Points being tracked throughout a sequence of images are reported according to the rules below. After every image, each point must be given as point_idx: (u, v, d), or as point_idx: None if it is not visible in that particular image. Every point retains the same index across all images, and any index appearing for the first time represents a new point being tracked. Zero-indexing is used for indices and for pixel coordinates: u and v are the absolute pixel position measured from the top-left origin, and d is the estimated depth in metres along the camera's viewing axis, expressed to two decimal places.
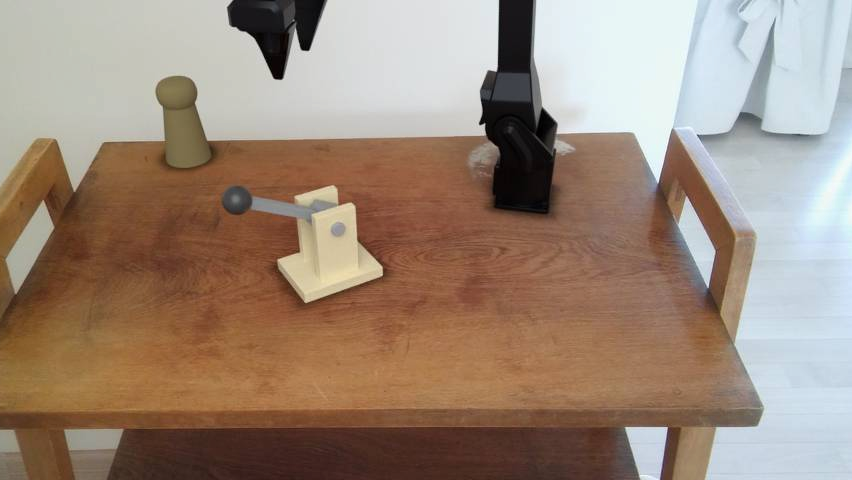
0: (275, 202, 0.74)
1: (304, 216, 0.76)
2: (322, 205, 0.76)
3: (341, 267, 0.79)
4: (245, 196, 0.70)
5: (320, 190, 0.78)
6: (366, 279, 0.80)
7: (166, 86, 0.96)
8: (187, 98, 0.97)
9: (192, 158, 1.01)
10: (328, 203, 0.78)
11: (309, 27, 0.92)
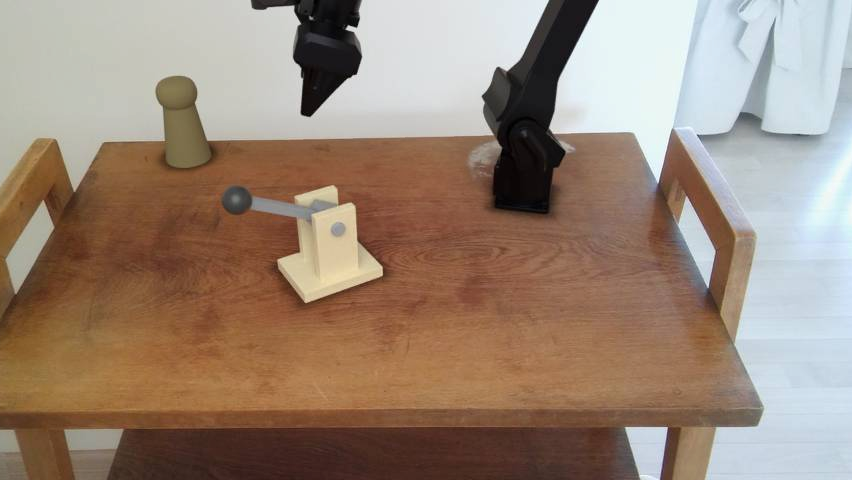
0: (275, 202, 0.74)
1: (304, 216, 0.76)
2: (322, 205, 0.76)
3: (341, 267, 0.79)
4: (245, 196, 0.70)
5: (320, 190, 0.78)
6: (366, 279, 0.80)
7: (166, 86, 0.96)
8: (187, 98, 0.97)
9: (192, 158, 1.01)
10: (328, 203, 0.78)
11: None
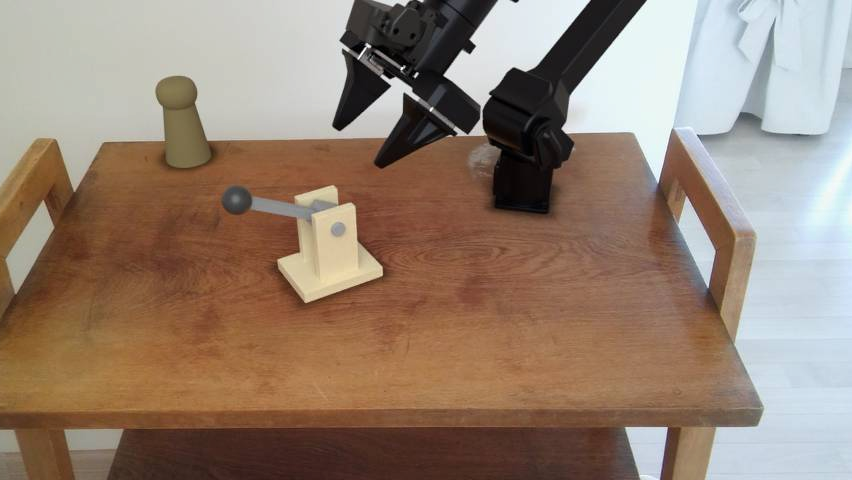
0: (275, 202, 0.74)
1: (304, 216, 0.76)
2: (322, 205, 0.76)
3: (341, 267, 0.79)
4: (245, 196, 0.70)
5: (320, 190, 0.78)
6: (366, 279, 0.80)
7: (166, 86, 0.96)
8: (187, 98, 0.97)
9: (192, 158, 1.01)
10: (328, 203, 0.78)
11: (357, 109, 0.79)
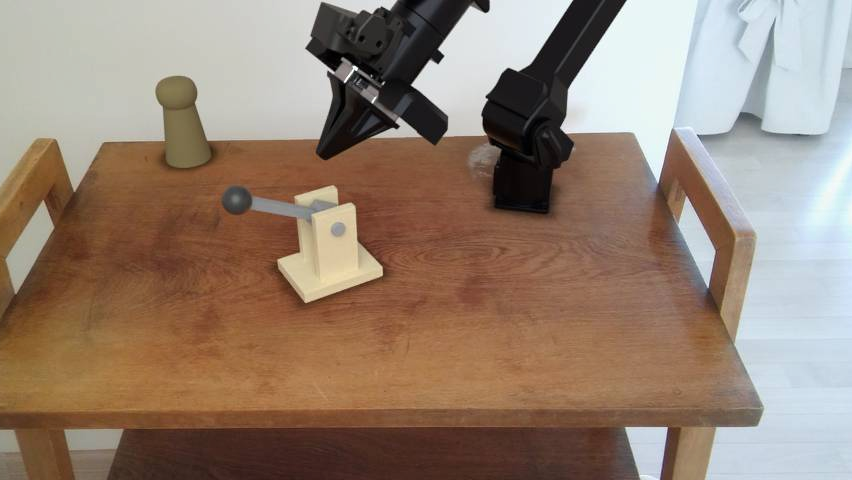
0: (275, 202, 0.74)
1: (304, 216, 0.76)
2: (322, 205, 0.76)
3: (341, 267, 0.79)
4: (245, 196, 0.70)
5: (320, 190, 0.78)
6: (366, 279, 0.80)
7: (166, 86, 0.96)
8: (187, 98, 0.97)
9: (192, 158, 1.01)
10: (328, 203, 0.78)
11: None
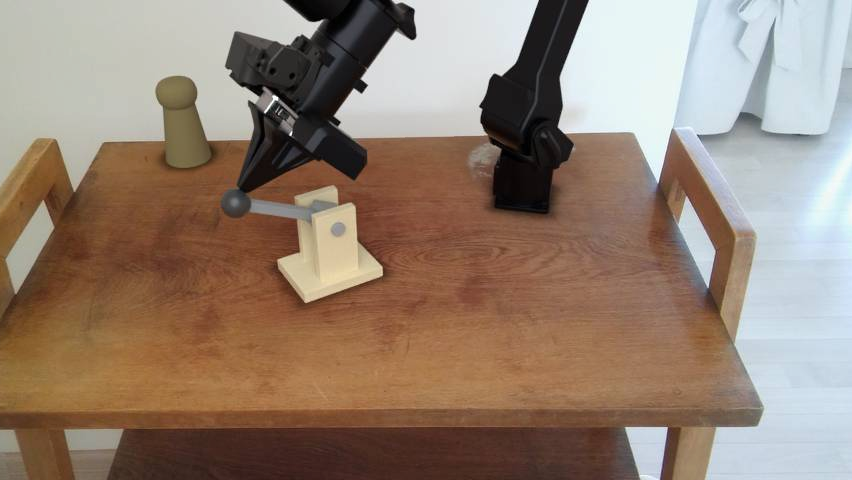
0: (274, 204, 0.74)
1: (304, 217, 0.76)
2: (322, 205, 0.76)
3: (341, 267, 0.79)
4: (244, 199, 0.70)
5: (320, 190, 0.78)
6: (366, 279, 0.80)
7: (166, 86, 0.96)
8: (187, 98, 0.97)
9: (192, 158, 1.01)
10: (328, 203, 0.78)
11: None
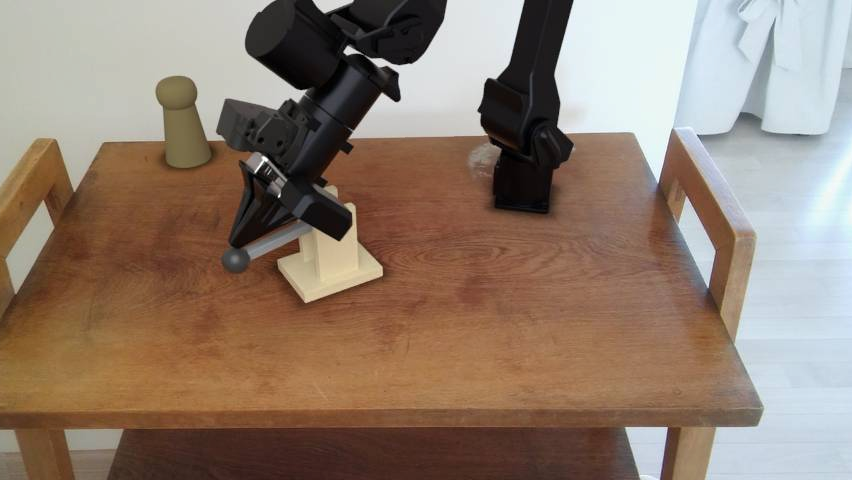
0: (270, 238, 0.75)
1: (304, 232, 0.77)
2: None
3: (341, 267, 0.79)
4: (238, 257, 0.73)
5: None
6: (366, 279, 0.80)
7: (166, 86, 0.96)
8: (187, 98, 0.97)
9: (192, 158, 1.01)
10: None
11: None
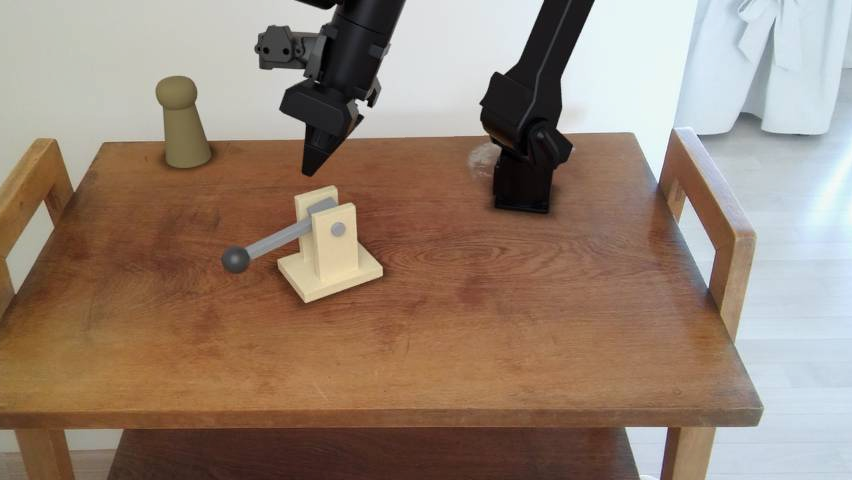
0: (270, 238, 0.75)
1: (304, 232, 0.77)
2: (314, 212, 0.76)
3: (341, 267, 0.79)
4: (238, 257, 0.73)
5: (320, 190, 0.78)
6: (366, 279, 0.80)
7: (166, 86, 0.96)
8: (187, 98, 0.97)
9: (192, 158, 1.01)
10: (321, 203, 0.77)
11: None
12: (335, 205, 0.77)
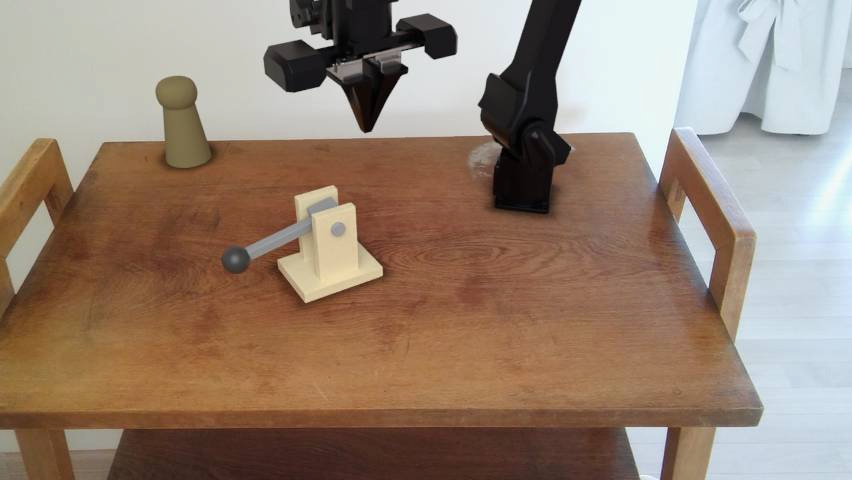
0: (270, 238, 0.75)
1: (304, 232, 0.77)
2: (314, 212, 0.76)
3: (341, 267, 0.79)
4: (238, 257, 0.73)
5: (320, 190, 0.78)
6: (366, 279, 0.80)
7: (166, 86, 0.96)
8: (187, 98, 0.97)
9: (192, 158, 1.01)
10: (321, 203, 0.77)
11: None
12: (335, 205, 0.77)
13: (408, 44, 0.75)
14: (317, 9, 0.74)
